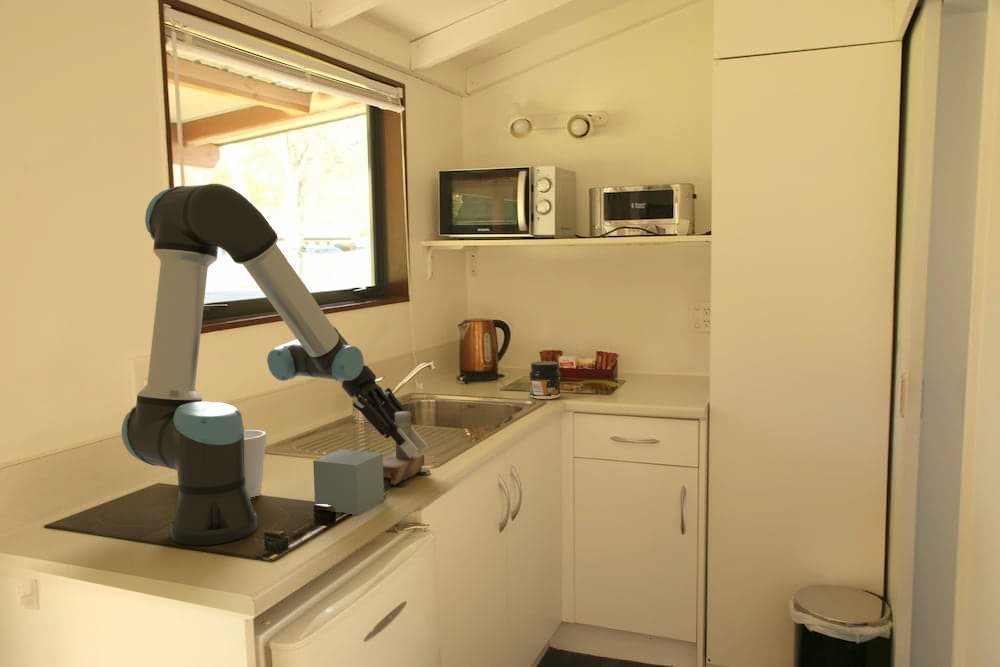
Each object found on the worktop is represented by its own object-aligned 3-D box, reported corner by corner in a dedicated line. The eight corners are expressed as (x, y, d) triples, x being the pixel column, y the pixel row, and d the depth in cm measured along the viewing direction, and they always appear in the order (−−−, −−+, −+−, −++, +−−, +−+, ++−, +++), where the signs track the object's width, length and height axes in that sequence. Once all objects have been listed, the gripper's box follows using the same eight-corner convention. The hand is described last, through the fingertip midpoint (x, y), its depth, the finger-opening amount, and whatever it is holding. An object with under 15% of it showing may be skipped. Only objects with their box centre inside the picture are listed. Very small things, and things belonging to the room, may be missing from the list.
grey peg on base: (397, 484, 174) (395, 422, 173) (369, 481, 177) (367, 419, 176) (424, 470, 185) (422, 411, 184) (397, 467, 188) (396, 409, 187)
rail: (380, 500, 167) (380, 490, 167) (347, 495, 170) (347, 486, 170) (429, 472, 187) (429, 464, 187) (399, 469, 190) (399, 461, 190)
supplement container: (533, 401, 272) (533, 365, 270) (526, 395, 282) (526, 361, 281) (564, 399, 274) (563, 364, 272) (556, 394, 284) (555, 360, 283)
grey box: (344, 495, 171) (342, 448, 170) (385, 500, 167) (383, 452, 166) (315, 509, 162) (313, 460, 161) (357, 515, 158) (356, 465, 157)
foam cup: (245, 486, 179) (243, 428, 177) (277, 491, 174) (275, 432, 173) (212, 498, 170) (209, 437, 169) (245, 504, 166) (242, 441, 165)
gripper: (342, 369, 178) (410, 449, 173) (382, 359, 193) (446, 432, 188) (322, 391, 180) (389, 471, 176) (363, 380, 196) (426, 453, 191)
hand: (418, 451), depth 182 cm, fingers closed on grey peg on base, 4 cm apart
